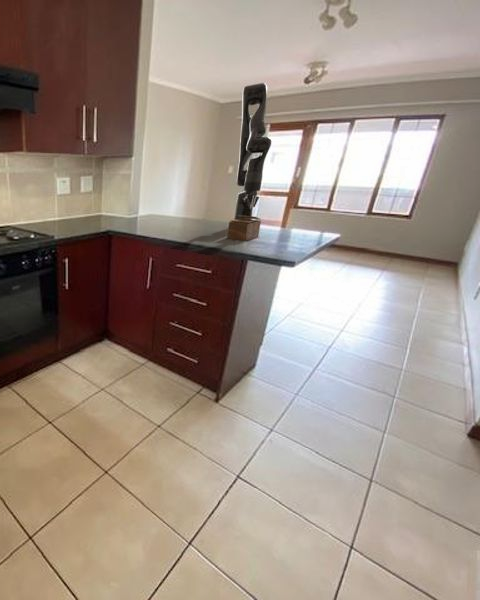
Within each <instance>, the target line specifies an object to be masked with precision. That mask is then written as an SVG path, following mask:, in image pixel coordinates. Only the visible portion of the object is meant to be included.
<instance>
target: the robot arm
mask: <svg viewBox="0 0 480 600" xmlns="http://www.w3.org/2000/svg"><path fill="white" fill-rule="evenodd" d="M241 96H242V98H241V102H242V103H241V125H240V127H241V128H240V137H239V157H238V158H239V159H238V168H237V175H236V184H237V186H238V187H243V191H241V192H239V193H238V194H237V198H236V204H235V211H234V219H246V218H241V217H239V216H237V215H242V216H253V210H254V208H255V207H256V205H257V203H258V201H259V199H260V197H259V196H258V192H260V191H261V188H262V187H261V186H262V181H263V174H264V173H263V171H264V165H265V161H266V158H267V155H268V154H269V151H270V148H271V146H272V139H271V137H269V136H265V135H266V133H267V123H266V122H267V121H266V113H267V102H268V85H267V84H266V82H260V83H254V84H250V85H246V86H244V87H243V90H242V95H241ZM256 105H258V107H257V108H256V111H254V113H253V115H251V112H250V106H256ZM253 154H259V155H258V156H257V157H253V158H251V156H252V155H253ZM250 158H251V159H250ZM246 165H247V169H246ZM234 219H233V220H234ZM248 220H253V219H248Z"/></svg>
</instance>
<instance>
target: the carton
mask: <svg viewBox="0 0 480 600" xmlns="http://www.w3.org/2000/svg"><path fill="white" fill-rule="evenodd" d="M261 222H262V221H261V220H257V219H252V220H248V219H230V220H229V222H228V229H227V235H226V239H231V240H238V241H249V240H252V239H256V238H259V236H260V228H261Z"/></svg>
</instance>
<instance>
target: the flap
mask: <svg viewBox="0 0 480 600" xmlns="http://www.w3.org/2000/svg"><path fill="white" fill-rule="evenodd" d="M237 216H239V217H241V218H246V219H252V220H259V221H261V220H262V219H261V218H260V217H258V216H253V215H252V216H242V215H237Z"/></svg>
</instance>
